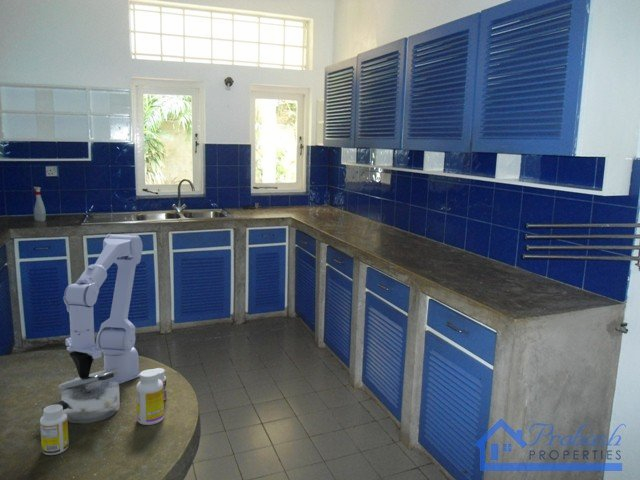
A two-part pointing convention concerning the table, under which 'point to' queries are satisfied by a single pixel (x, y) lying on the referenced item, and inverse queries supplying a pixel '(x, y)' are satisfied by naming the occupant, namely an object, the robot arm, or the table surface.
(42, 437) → the supplement bottle
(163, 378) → the pill bottle
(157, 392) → the supplement bottle
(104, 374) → the cooker lid
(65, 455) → the table surface
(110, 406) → the cooker pot
